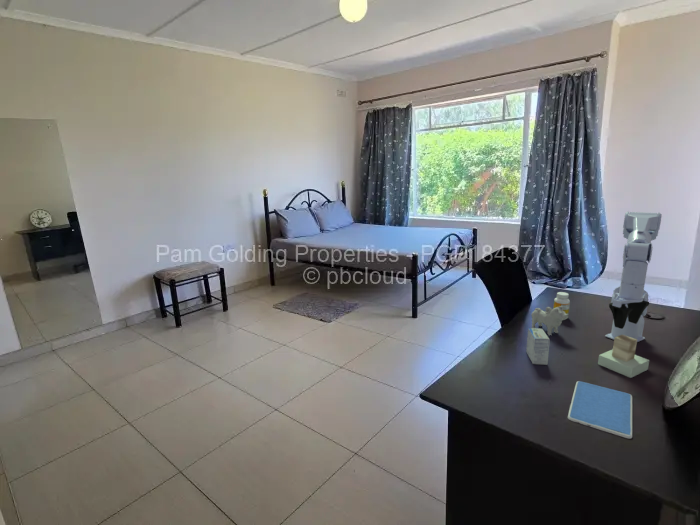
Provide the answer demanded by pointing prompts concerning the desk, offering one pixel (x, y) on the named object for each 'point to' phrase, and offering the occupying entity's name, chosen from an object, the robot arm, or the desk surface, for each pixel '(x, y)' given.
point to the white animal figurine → (549, 318)
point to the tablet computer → (602, 409)
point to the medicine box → (537, 346)
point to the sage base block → (624, 364)
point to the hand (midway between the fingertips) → (625, 325)
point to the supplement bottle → (562, 301)
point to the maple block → (624, 347)
